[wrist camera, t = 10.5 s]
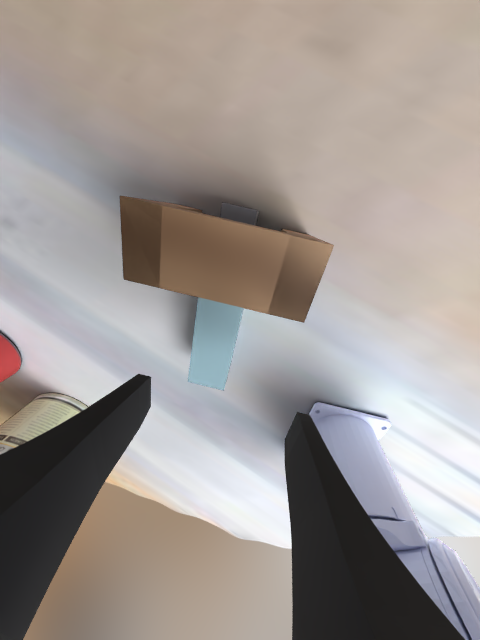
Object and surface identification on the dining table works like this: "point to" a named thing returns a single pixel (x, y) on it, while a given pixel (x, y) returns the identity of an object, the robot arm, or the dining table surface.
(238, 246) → the brown block
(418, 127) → the dining table surface
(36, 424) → the coffee can
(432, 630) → the robot arm
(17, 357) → the beer can
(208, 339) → the light blue pillar
